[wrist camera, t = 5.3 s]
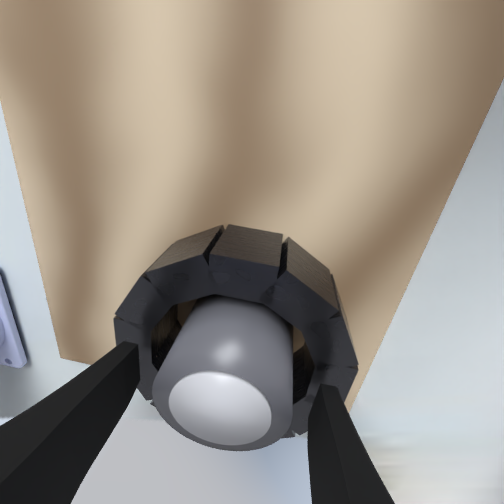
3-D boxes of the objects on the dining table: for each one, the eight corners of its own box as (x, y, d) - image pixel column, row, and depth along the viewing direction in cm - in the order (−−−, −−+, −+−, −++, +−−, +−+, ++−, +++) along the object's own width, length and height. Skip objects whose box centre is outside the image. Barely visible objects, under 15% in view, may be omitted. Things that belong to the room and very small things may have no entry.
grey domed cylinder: (195, 344, 16) (153, 441, 11) (196, 266, 13) (144, 346, 9) (284, 360, 15) (280, 468, 10) (301, 283, 13) (305, 375, 8)
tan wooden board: (67, 350, 18) (60, 357, 18) (-71, -293, 8) (-99, -325, 7) (343, 411, 17) (345, 421, 16) (638, -249, 6) (669, -282, 6)
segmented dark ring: (150, 366, 17) (123, 413, 14) (145, 208, 12) (103, 233, 10) (315, 402, 16) (319, 459, 13) (371, 249, 12) (394, 288, 9)
